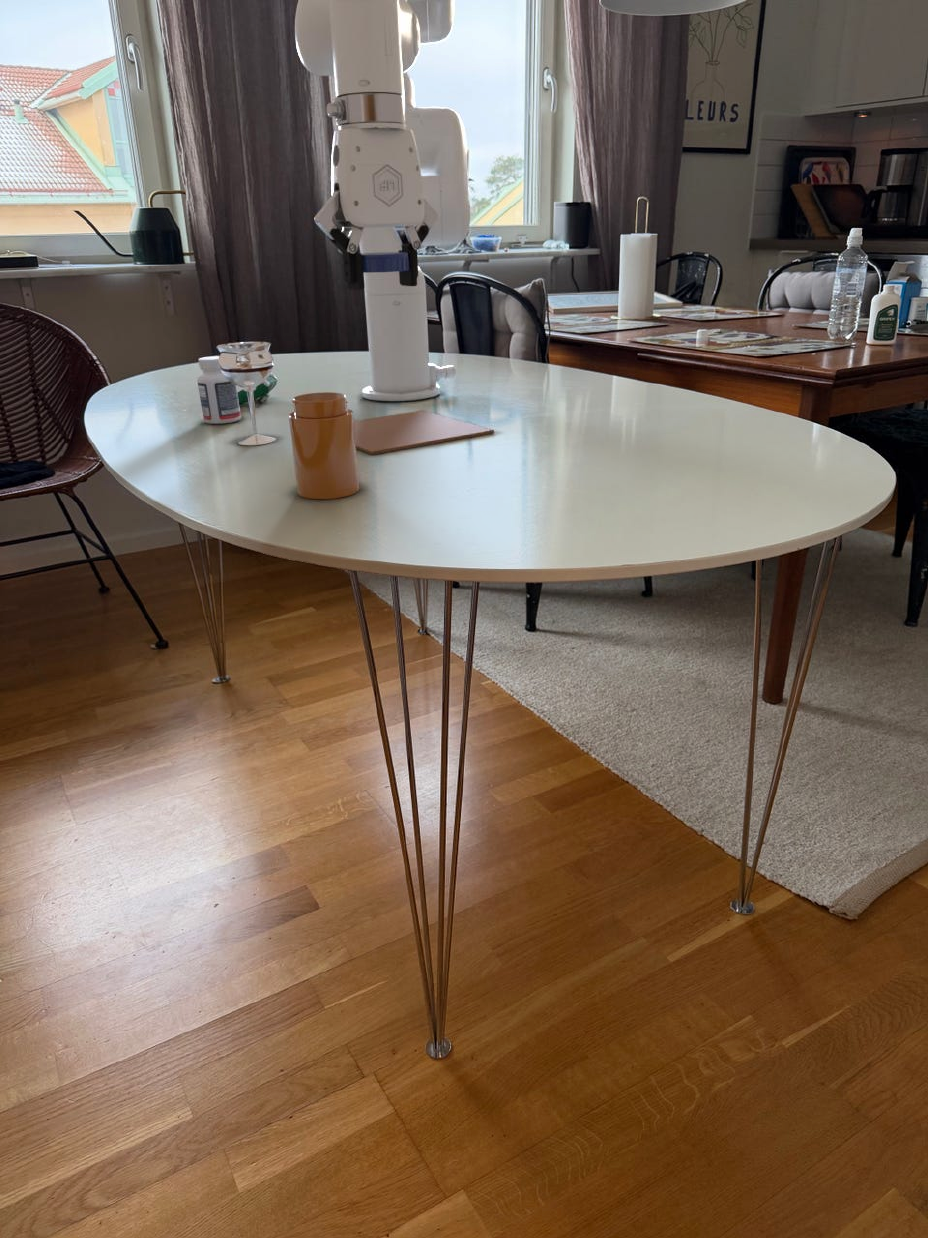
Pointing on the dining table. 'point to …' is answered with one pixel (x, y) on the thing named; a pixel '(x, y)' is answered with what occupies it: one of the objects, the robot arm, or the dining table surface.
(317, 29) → the robot arm
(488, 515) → the dining table surface
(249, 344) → the wineglass
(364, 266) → the lid
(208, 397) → the pill bottle
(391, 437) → the mat
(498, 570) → the dining table surface
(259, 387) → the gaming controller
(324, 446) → the jar
